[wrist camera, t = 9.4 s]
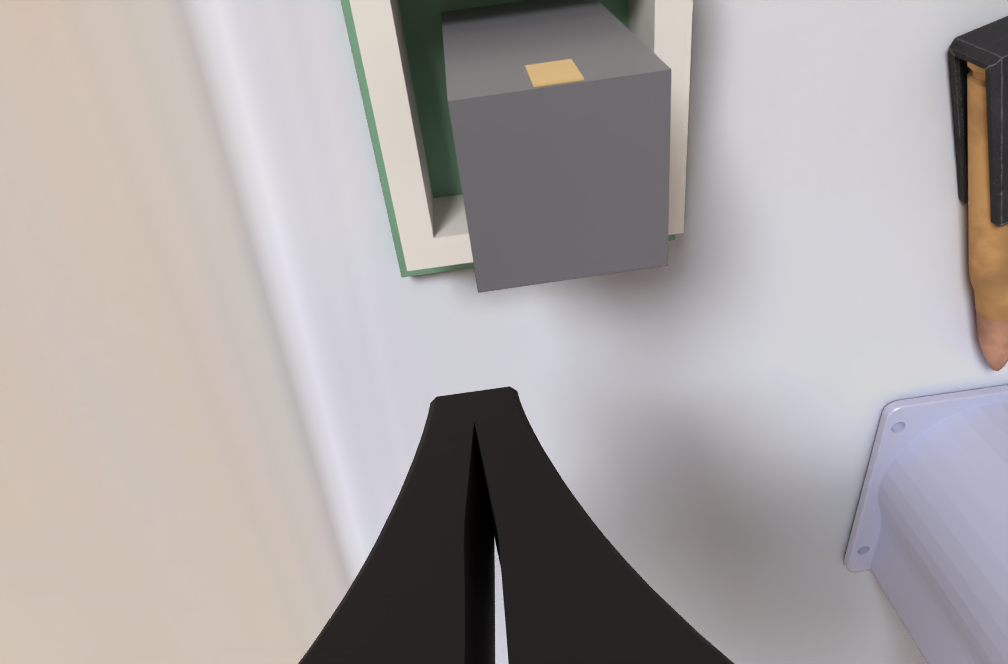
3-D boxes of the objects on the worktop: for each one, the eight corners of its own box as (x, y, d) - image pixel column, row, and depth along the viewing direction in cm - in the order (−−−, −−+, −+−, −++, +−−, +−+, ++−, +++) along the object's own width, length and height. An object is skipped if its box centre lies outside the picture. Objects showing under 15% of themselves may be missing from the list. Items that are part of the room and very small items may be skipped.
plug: (594, 137, 19) (667, 266, 13) (462, 155, 19) (478, 294, 13) (588, -11, 17) (671, 66, 11) (440, 10, 17) (447, 99, 11)
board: (668, 230, 21) (700, 281, 19) (402, 267, 21) (398, 323, 19) (679, -180, 16) (726, -185, 13) (315, -133, 15) (293, -128, 13)
